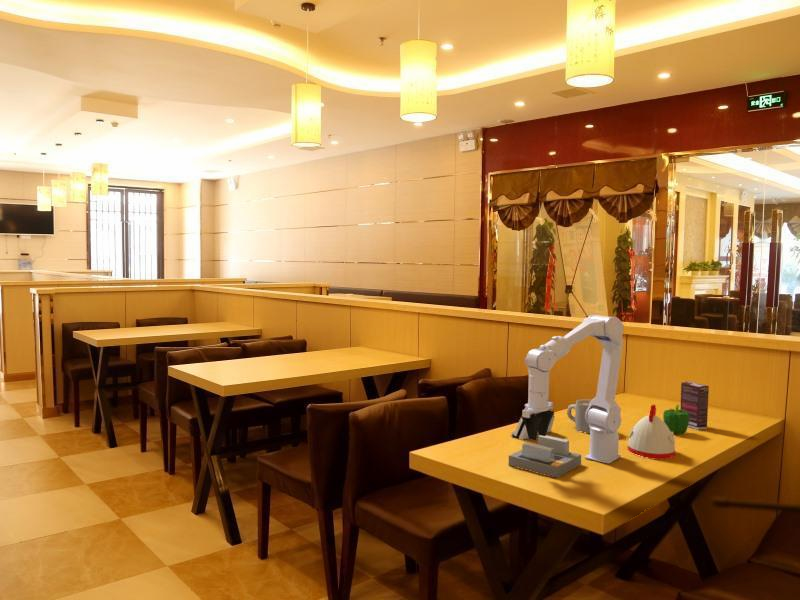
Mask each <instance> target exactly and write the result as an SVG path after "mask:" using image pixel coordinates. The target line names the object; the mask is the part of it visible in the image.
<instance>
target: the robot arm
mask: <svg viewBox="0 0 800 600" xmlns="http://www.w3.org/2000/svg"><path fill="white" fill-rule="evenodd" d="M624 327H625V325H624V324H623V322H622V321H621V319H620V318H618V317H616V316H606V315H599V314H594V313H593V314H590V315H588V317H585V318H584V319H583V321H582V323H580V324H579V325H577V326H576V327H574V328H573V329H572V330H571V331H569V332H568V333H566V335H564V336H561V335H557V336H556V335H553V336H552V337H551V339H550V340H549V341H548V342H546V343H545V344H541V345H539V348H533V349H531V350H529V351H528V353H527V354H526V357H525V358H524V363H525V365H526V367H527V373H528V389H527V390H528V398H527V399H528V400H527V401H528V402H527V403H525V404H524V407H525V408H524V409H522V414H521V417H520V418H522V420H523V421H524V424H525V426H526V429H527V434H528V438H527V439H528V440H531V441H537V440H538V436H540V435H542V436H546V435H548V432H547V430H548V427H549V423H550V421H551V419H552V417H553V415H554V416H555V411H554V410H553V408H554V402H553V401H549V399H550V398H549V396H550V395H549V394H550V393H549V389H550V371H551V369H553V368H554V365H555V363H556V362H557V361H558V360H560V359H561V358H563V357H564V356H566V355H567V354H568V353H570V351H571V347H572V346H574V345H575V344H577V343H579V342H581V341H583V340H585V339H586V338H588V337H590V336H592V337H593V338H595V339H596V340H598V341H599V343H600V344H601V345H602V347H603V348H602V354H601V360H600V368H599V374H598V380H597V387H596V393H595V395H596V396H595V397H594V398H592V399H590V400H591V401H590V403H589V407H588V409H587V411H586V414H585V419H586V421H587V423H588V424H589V428H590V435H589V453H588V454H586V455H584V457H583V458H584V459H587V460H591V461H595V462H599V463H604V464H611V463H612V462H614V461H616V460H617V459H620V458H621V457H622V455H621V454H619V443H620V442H619V441H620V440H619V438H620V437H619V433H618V430H619V429H620V427H621V424H622V417H621V416H622V415H621V409H622V408H621V406H620V405H619V404H618V402H617V401H616V395H617V386H618V380H619V373H620V368H621V360H622V354H623V353H622V352H623V347H624V346H623V345H624V339H623V334H624ZM601 407H603V408H601ZM552 410H553V411H552ZM537 433H538V434H539V435H537Z"/></svg>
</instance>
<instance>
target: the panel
mask: <svg viewBox="0 0 800 600" xmlns="http://www.w3.org/2000/svg"><path fill="white" fill-rule="evenodd" d="M521 450H522V458H524V459H528V460H532V461H536V462H540V463H544V464H548V465H551V464H552V463H554V451H555V449H554V448H550V447H546V446H541V445H538V443H537V444H536V443H532V442H528V441H527V442H524V443H522V445H521Z"/></svg>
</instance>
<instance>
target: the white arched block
mask: <svg viewBox="0 0 800 600" xmlns="http://www.w3.org/2000/svg"><path fill="white" fill-rule="evenodd" d="M554 420H555V414H554V415H553V417H552V419H551V421H550V423H549V427H548V430H547V433H550V432H552V428H553V425H554ZM537 436H540V435H539V434H538V433H537ZM510 437H518V439H519V440H520V439H521V441H523V440H526V439H529V438H528V434H527V429H526V426H525V424H524V421H523V420H522V418H521V417H520V419H519V420H518V423H517V426H516V427H515V430H514V431H512V432H511V433H510Z"/></svg>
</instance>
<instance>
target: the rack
mask: <svg viewBox="0 0 800 600" xmlns="http://www.w3.org/2000/svg"><path fill="white" fill-rule="evenodd" d="M537 445H541V446H546V447H550V448H554V449H555V451H554V463H552V464H551V465H548V464H544V463H540V462H536V461H532V460H528V459H524V458H522V449H521V450H518V451H515V452H514V453H511V454H509V455H508V466H509V465H511V466H510V467H512V466H515V467H514V468H516V467H519V468H518V469H520V468H523V469H522V470H524V469H527V470H531V471H534V472H533V473H535V472H538V473H537V474H539V473H542V474H541V475H543V474H545V475H544V476H547V475H549V476H548V477H550V476H552V478H554V477H556V478H555V479H558V478H560V477H561V476H563V475H565V474H567V473H568V471H569V472H570V471H572V470H574V469H576V468H577V467H579V466H581V465H582V453H581V454H579V453H576V452H572V451H570V440H569V439H564V438H559V437H555V436H552V435H548V434H546V436H542V435H537ZM527 470H526V471H527ZM531 471H530V472H531ZM559 476H560V477H559ZM557 477H558V478H557Z"/></svg>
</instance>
